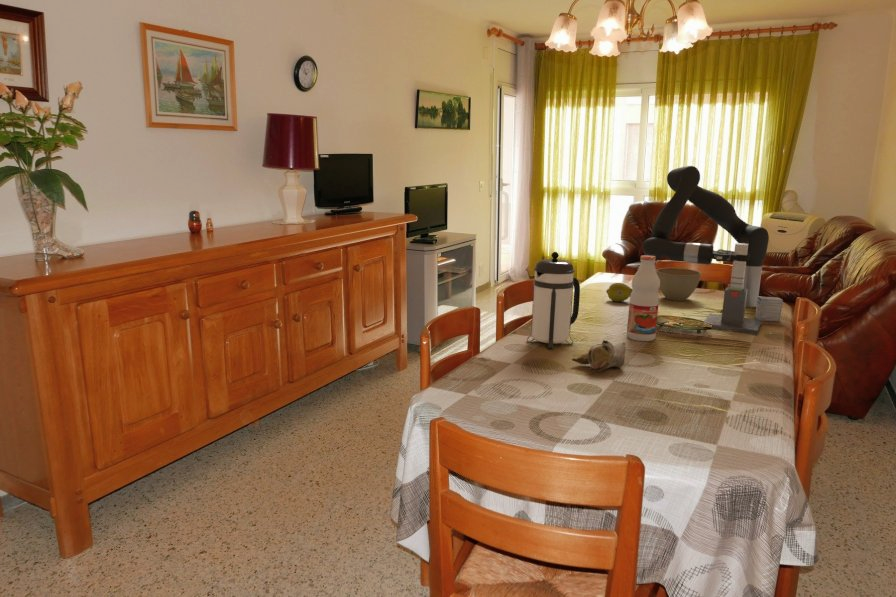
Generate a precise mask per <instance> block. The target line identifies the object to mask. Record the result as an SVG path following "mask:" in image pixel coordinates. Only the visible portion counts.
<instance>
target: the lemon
mask: <svg viewBox="0 0 896 597" xmlns="http://www.w3.org/2000/svg"><path fill="white" fill-rule="evenodd" d="M605 291H606V292H605V293H606V295H607V297H608V298H609V300H611V301H612V302H618V303H620V302H623V301H626V300H628V299H630V295H631V293H632V287H630V286H629V285H627V284H626V283H621V282H615V283H614V282H613V283H612V284H610V285H609V288H607V289H606V290H605Z"/></svg>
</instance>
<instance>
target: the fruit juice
mask: <svg viewBox="0 0 896 597" xmlns="http://www.w3.org/2000/svg"><path fill="white" fill-rule="evenodd" d="M639 259H640V261H639V262H640V264H639V267H638V268H637V271H636V273H635V274H634V275H633V277H632V280H631V289H632V293H631V295H630V297H629V302H628V304H629V306H628V314H627V325H626V326H627V327H626V336H627V339H630V340H633V341H638V342H652V341H654V340H655V338H656V335H657V327H658V326H657V325H658V324H657V323H658V315H659V305H660V296H659V290H660V279H659V277H658V275H657V269H656V266H655V263H656V261H655V260H656V257H655V256H650V255H645V254H644V255H640V258H639Z"/></svg>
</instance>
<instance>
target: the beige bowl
mask: <svg viewBox="0 0 896 597" xmlns="http://www.w3.org/2000/svg"><path fill="white" fill-rule="evenodd" d="M656 273H657V275H658V277H659V279H660V287H659V290H660V291H661V293H662V294H663V296H664V298H666V299H667V300H670V301H676V302H683V301H687V299H688V298H690V296H692V294H694V291H695V290H697V287H698V285H699V283H700V279H701V276H702V273H701V272H700V271H698V270H695V269H689V268H681V267H662V268H657V269H656Z"/></svg>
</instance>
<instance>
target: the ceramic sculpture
mask: <svg viewBox="0 0 896 597" xmlns="http://www.w3.org/2000/svg"><path fill="white" fill-rule="evenodd" d="M626 349H627V348H626V343H625V342H621V343H615V344H612V342H610V341H608V340H605V339H604V340H602V342H601V343H598V344H593V345H592V346H591V347H590V348H589V350H588V351H587V353H584V354H582V355H580V356H578V357H577V358H574V357H573V358H571V360H572V362H574V363H577V364H581V365H590V368H589V370H590V371H593V372H595V373H596V372H599V373H600V372H602V371H604V370H606V369H609V368H612V367H614V368H619V369H620V368H622V367H623V366H624V365H625V359H626Z"/></svg>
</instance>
